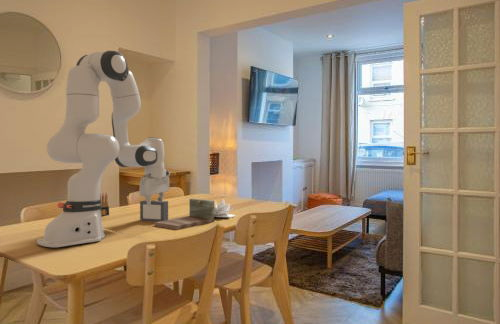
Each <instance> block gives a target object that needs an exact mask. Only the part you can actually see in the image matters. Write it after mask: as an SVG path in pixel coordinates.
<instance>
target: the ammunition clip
mask: <svg viewBox="0 0 500 324" xmlns="http://www.w3.org/2000/svg"><path fill="white" fill-rule="evenodd" d="M100 199H101V205H102V209H101V218H102V217H107V216H110V208H109V207H110V206H109V200H108V192H107V191H106V192H105V193H104V192H102V193H101V192H100Z"/></svg>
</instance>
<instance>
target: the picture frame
mask: <svg viewBox="0 0 500 324" xmlns="http://www.w3.org/2000/svg"><path fill="white" fill-rule="evenodd" d="M151 201H152V205H147V201H146V199H145V200H141V201H139V215H140V216H139V220H140V221H142V222H150V223H151V222H153V223H154V222H159V221H165V220H169V201H168V200H163V201H158V200H151Z"/></svg>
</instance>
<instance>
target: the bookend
mask: <svg viewBox="0 0 500 324" xmlns="http://www.w3.org/2000/svg"><path fill="white" fill-rule="evenodd" d="M214 207H215V200H210V199H201V198H200V199H199V198H189V215H187V216H181V217H177V218H171V219H168V220H165V221H159V222H153V223H154V227H159V228H165V229H172V230H176V231H178V230H182V229H187V228H191V227H196V226H201V225H206V224H210V223H215V217H214Z"/></svg>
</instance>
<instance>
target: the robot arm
mask: <svg viewBox="0 0 500 324" xmlns="http://www.w3.org/2000/svg"><path fill="white" fill-rule="evenodd" d="M66 79H67V80H66V89H65V90H66V91H65V95H66V98H65V100H66V101H65V102H66V103H65V104H66V105H65V106H66V108H65V109H66V110H65V118H64V121H63V123H62V125H61V127H60V129H59V130H58V131H57V132H56V133H55V134H53V136H51V137H50V138H49V139H48V141H47V145H46V152H47V154H48V156H49V157H50V158H51V159H52V160H53V161H55V162H59V163H65V164H82V167H81V168H80V171H79V172H77V173H74V174H73V175H71V176H70V177H69V179H68V180H67V200H66V201H65V202H58V203H57V204H56V206H57V208H58V209H62V212H61V213H60V214H58V215H57V216H56V217H54V218H53V219H52V220H51V221H50V222H48V223H47V224H46V226H45V229H44V233H43V234H44V236H43V237H42V238H39V239H37V240H36V244H37V245H39V246H42V247H47V248H61V247H62V248H63V247H68V246H75V245H80V244H87V243H88V244H89V243H95V242H100V241H102V239H103V238H104V237H106V234H105V230H104V228H103V227H104V226H103V221H102V217H101V209H102V205H101V199H102V198H101V199H100V193H101V186H102V185H101V184H102V183H101V182H102V177H103V175H104V173H105V170H106V169H107V167H109V165H110V164H111V163H112V162H113V161H115V163H116V164H117V165H118V166H119V167H121V168H129V167H131V168H137V167H138V168H144V174H143V175H142V176H141V179H140V181H139V190H138V191H139V195H140V196H141V197H142V196H143V197H144V198H145V200H146V201H147V205H152V201H153V200H152V199H151V197H152V195H156V194H158V197H157V201H164V195H165V192H168V191H169V189H170V174H171V172H170V171H169V170H167V169H166V168H165V163H164V160H165V145H164V144H165V143H164V141H163V140H162V139H161V138H160V137H153V136H151V137H149V136H148V137H146V138H145V140H143V141H142V142H140V143H138V144H130V142H129V133H128V123H129V121H130V120H131V119H132V118H133V117H135V116H136V115H137V114H138V113H139V111H140V110H141V108H142V101H141V96H140V92H139V88H138V85H137V82H136V79H135V76H134V74H133V72H132V71H131V70H129V66H128V62H127V59H126V58H125V56H124V55H123V54H122V53H121V52H120V51H117V50H105V51H96V52H92V53H90V54H85V55H83V56H81V57H80V58H79V59H78V61H77V62H76V65H75V66H73V67H70V69H69V71H68V74H67V78H66ZM100 82H106V83H107V85H108V87H109V91H110V96H111V100H112V113H111V125H112V134H113V135H109V134H105V133H85V132H86V129H87V127H88V126H89V125H90V124H93V123H94V122H96V121H97V120H98V119H99V116H100V91H99V86H100Z"/></svg>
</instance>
